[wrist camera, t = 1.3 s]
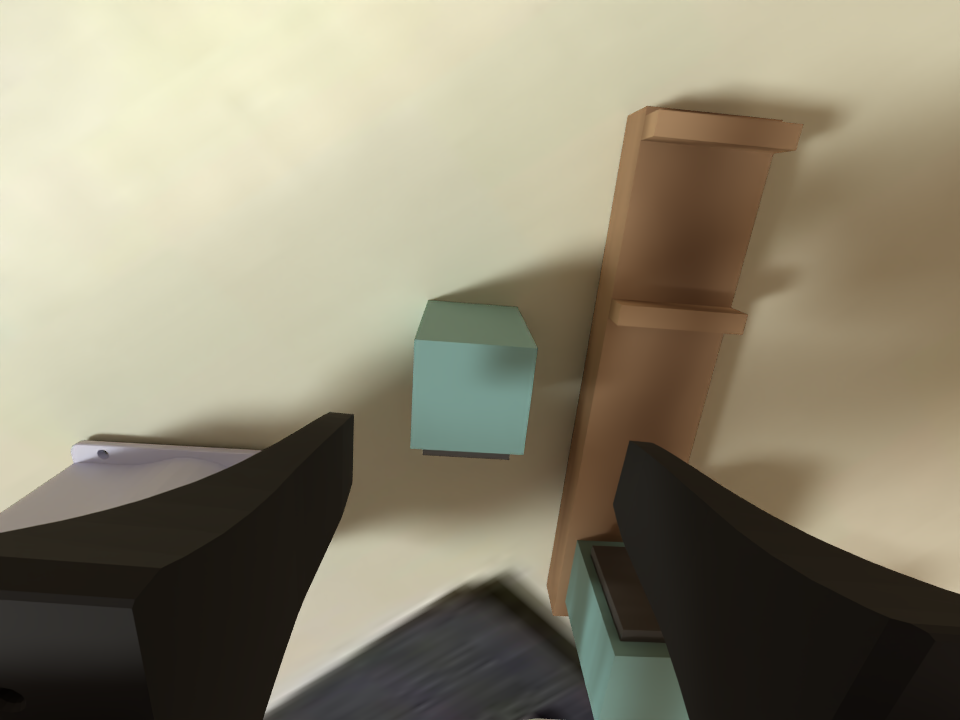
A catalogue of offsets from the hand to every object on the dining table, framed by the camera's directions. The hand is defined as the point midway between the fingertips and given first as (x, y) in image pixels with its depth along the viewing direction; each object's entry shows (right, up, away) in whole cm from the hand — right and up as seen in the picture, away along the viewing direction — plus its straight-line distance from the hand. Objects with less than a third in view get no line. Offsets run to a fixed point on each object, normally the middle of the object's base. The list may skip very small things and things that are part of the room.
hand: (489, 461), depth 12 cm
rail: (+7, +1, +10) cm, 12 cm away
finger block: (-1, +3, +9) cm, 10 cm away
